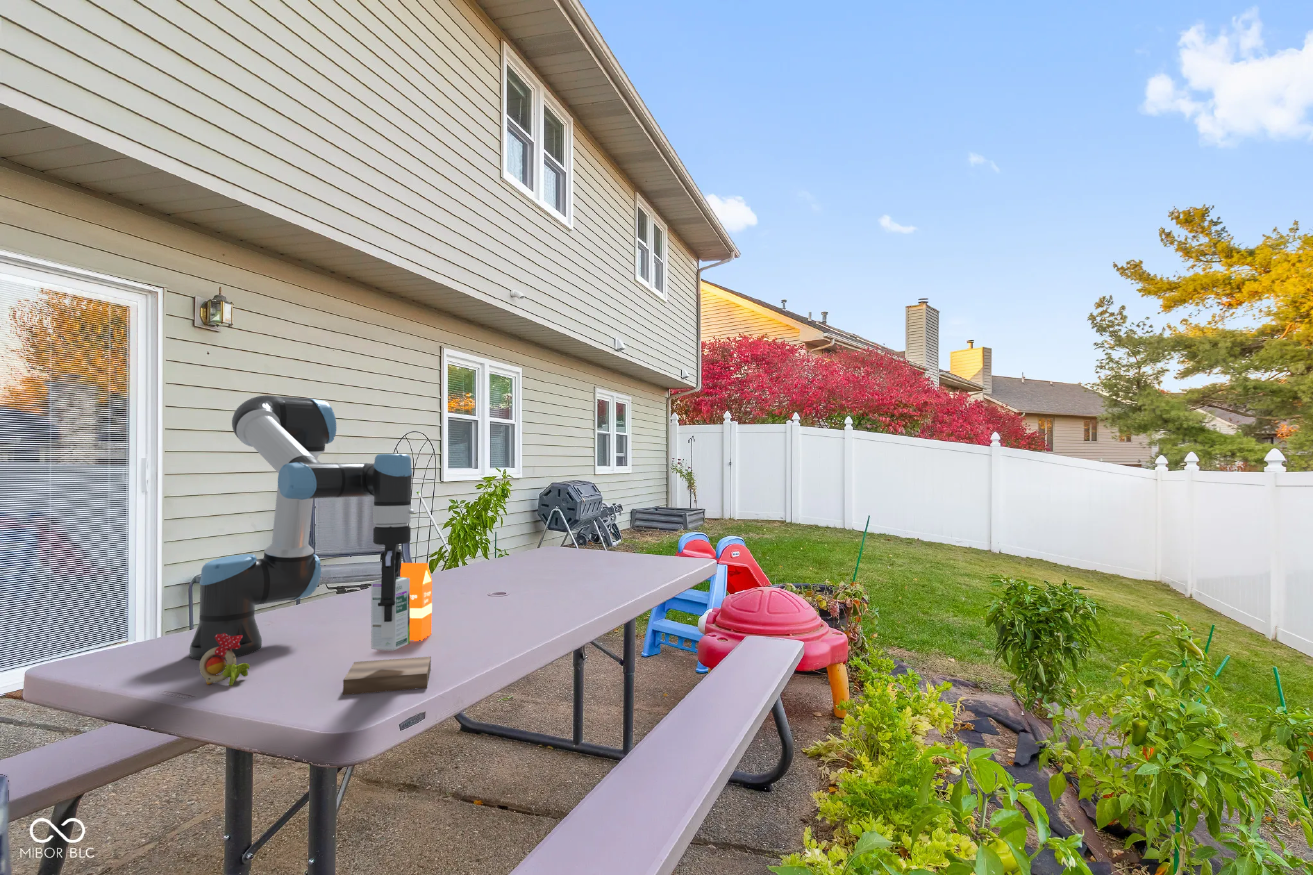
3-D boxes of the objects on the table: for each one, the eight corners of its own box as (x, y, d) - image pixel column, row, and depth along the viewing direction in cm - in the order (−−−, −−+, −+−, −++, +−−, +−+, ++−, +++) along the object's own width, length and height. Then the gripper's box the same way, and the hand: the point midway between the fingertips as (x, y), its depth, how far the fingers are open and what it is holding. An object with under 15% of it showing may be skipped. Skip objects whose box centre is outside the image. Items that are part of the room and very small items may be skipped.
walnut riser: (354, 675, 147) (354, 661, 147) (430, 669, 151) (430, 656, 151) (343, 694, 134) (343, 679, 135) (426, 688, 139) (427, 673, 139)
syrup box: (394, 650, 140) (396, 581, 140) (369, 649, 141) (370, 580, 142) (410, 644, 145) (411, 576, 146) (385, 642, 146) (386, 576, 147)
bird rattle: (202, 699, 138) (245, 680, 139) (180, 650, 138) (224, 631, 139) (217, 690, 144) (259, 671, 145) (197, 642, 144) (239, 624, 145)
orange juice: (421, 641, 177) (422, 565, 178) (388, 640, 177) (389, 564, 178) (431, 633, 184) (433, 561, 185) (400, 633, 185) (401, 560, 186)
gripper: (406, 528, 136) (404, 642, 135) (414, 521, 155) (413, 621, 154) (366, 529, 134) (364, 645, 133) (379, 522, 153) (378, 623, 152)
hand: (390, 632), depth 143 cm, fingers closed on syrup box, 7 cm apart
